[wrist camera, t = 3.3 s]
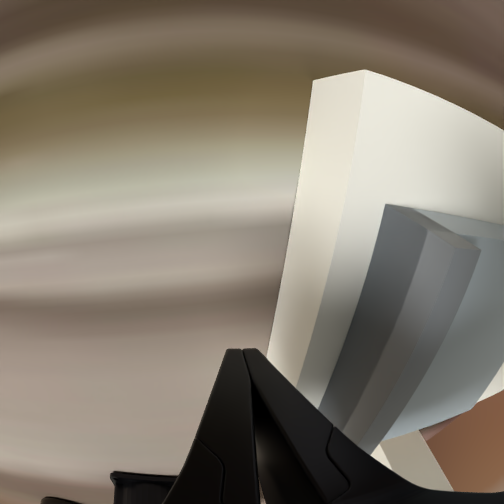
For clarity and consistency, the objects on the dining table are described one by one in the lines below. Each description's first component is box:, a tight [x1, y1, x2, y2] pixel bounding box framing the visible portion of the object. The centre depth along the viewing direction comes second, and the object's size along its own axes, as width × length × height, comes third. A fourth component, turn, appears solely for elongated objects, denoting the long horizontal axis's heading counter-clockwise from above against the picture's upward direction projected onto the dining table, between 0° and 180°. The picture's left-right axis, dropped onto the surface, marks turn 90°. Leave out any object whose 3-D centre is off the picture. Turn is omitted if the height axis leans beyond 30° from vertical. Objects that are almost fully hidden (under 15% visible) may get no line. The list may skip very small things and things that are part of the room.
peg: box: [370, 430, 453, 491], centre depth 17 cm, size 4×4×10 cm
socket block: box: [266, 70, 504, 409], centre depth 13 cm, size 19×16×4 cm
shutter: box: [318, 204, 504, 455], centre depth 9 cm, size 8×9×3 cm
